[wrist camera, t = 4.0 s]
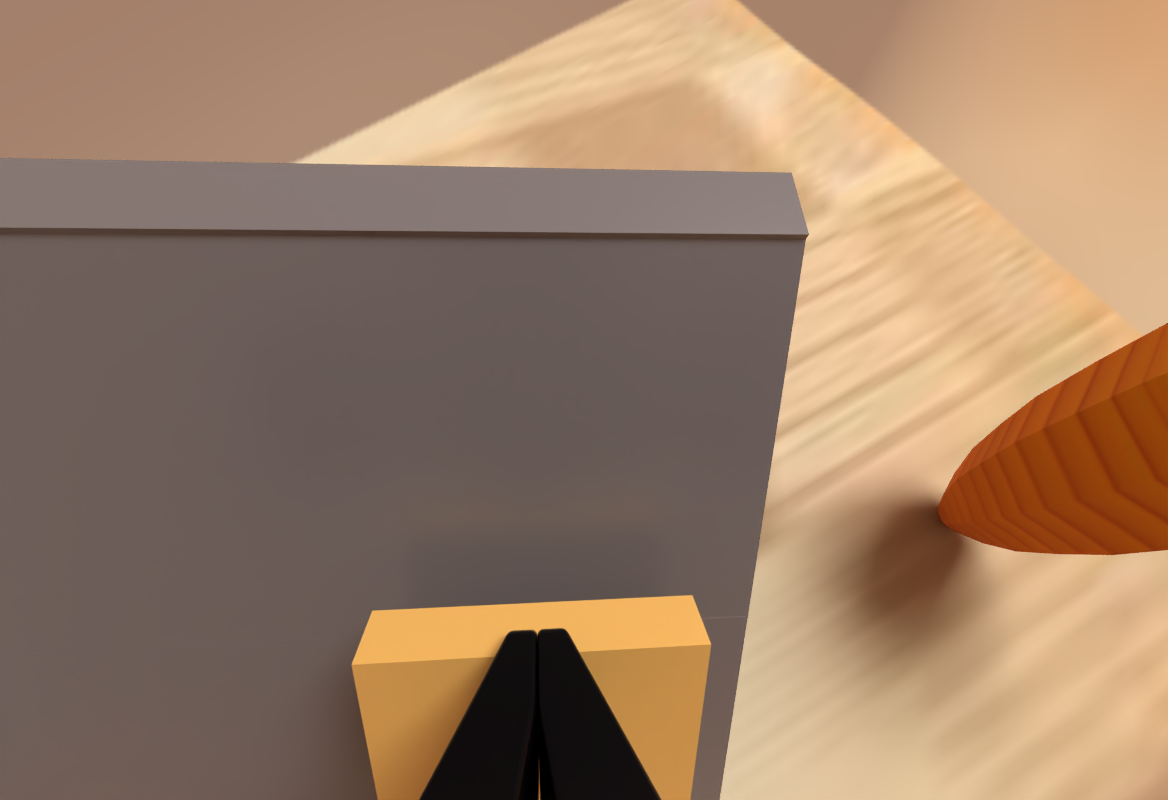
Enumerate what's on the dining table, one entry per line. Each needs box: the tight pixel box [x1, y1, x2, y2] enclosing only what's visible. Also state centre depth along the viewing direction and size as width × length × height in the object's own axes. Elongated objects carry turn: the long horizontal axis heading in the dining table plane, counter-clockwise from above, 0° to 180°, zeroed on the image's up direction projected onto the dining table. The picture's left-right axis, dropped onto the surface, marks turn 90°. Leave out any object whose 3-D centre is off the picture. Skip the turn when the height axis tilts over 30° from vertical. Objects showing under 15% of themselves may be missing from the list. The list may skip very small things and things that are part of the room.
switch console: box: [0, 158, 809, 800], centre depth 11 cm, size 12×22×13 cm, turn 93°
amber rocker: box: [352, 595, 711, 800], centre depth 9 cm, size 5×5×5 cm
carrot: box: [937, 323, 1168, 555], centre depth 13 cm, size 5×5×15 cm
